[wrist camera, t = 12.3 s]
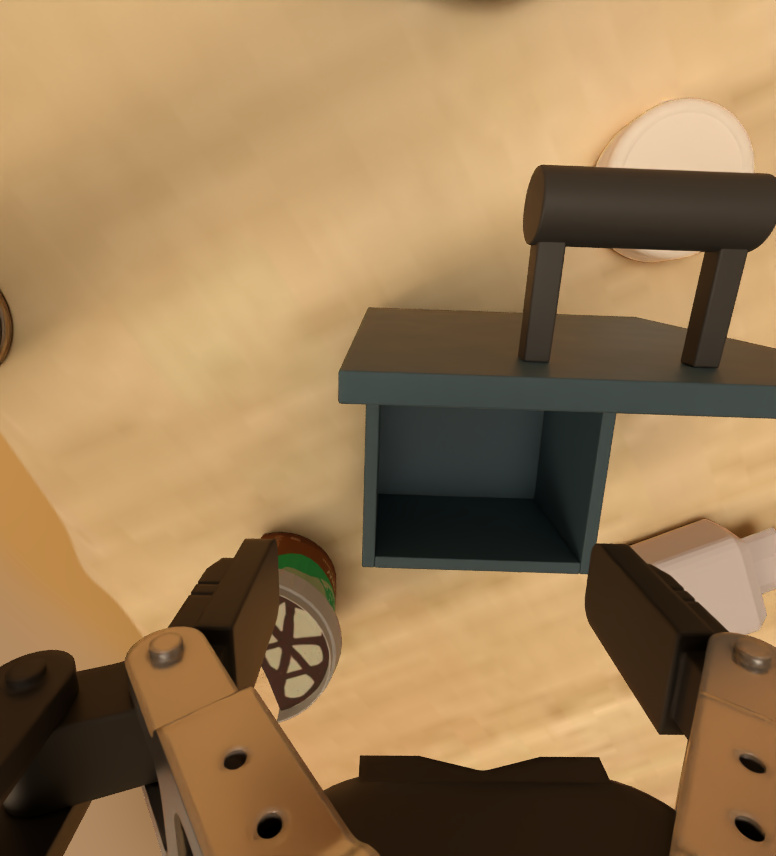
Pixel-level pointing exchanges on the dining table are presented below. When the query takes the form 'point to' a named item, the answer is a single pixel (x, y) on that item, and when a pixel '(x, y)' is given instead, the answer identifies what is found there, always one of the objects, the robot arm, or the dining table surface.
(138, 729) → the robot arm
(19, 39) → the dining table surface
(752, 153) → the white round disc
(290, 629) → the food container
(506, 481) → the cool chest
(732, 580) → the charger
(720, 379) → the lid
